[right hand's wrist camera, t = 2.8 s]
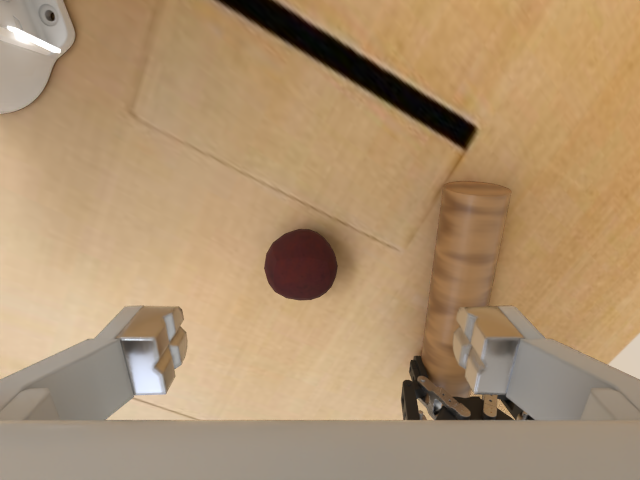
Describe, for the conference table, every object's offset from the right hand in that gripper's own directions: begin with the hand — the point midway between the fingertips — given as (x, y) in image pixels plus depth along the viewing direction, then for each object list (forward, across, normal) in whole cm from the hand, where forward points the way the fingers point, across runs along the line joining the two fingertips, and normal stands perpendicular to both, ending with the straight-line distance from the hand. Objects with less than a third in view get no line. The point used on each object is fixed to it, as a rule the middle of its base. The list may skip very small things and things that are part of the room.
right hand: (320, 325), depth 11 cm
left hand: (+27, -16, +24) cm, 39 cm away
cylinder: (+29, -16, +15) cm, 36 cm away
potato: (+29, +2, +10) cm, 30 cm away
